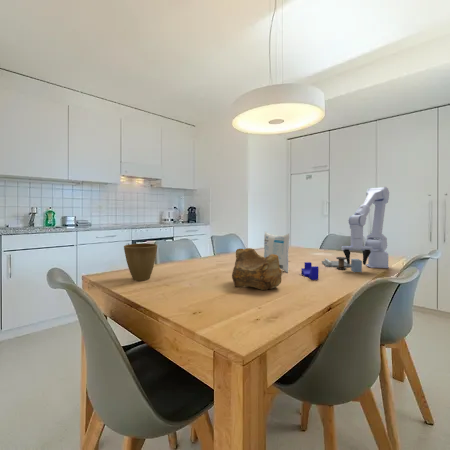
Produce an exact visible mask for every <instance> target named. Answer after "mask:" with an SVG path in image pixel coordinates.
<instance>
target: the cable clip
mask: <svg viewBox="0 0 450 450" xmlns="http://www.w3.org/2000/svg"><path fill="white" fill-rule="evenodd" d="M319 271H320V270H319V266H317V265H316V266H315V265H314V266H313V265H312V262H310V261H309V262H308V261H307V262H304V267H302V268H301V275H302V276H303V277H305V278H309V279H310V280H313V281H317V280H319Z"/></svg>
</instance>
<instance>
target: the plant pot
mask: <svg viewBox="0 0 450 450" xmlns="http://www.w3.org/2000/svg"><path fill="white" fill-rule="evenodd" d="M123 250H124V255H125V260H126V263H127V264H126V265H127V267H128V271H129V273H130V276H131V278H132V280H133V281H135V282H143V281H148V280H150V279H151V276H152V273H153V270H154V267H155V266H154V265H155V262H156V256H157V250H158V244H156V243H149V242H148V243H130V244H125V245H123Z"/></svg>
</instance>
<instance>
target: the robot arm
mask: <svg viewBox="0 0 450 450" xmlns="http://www.w3.org/2000/svg"><path fill="white" fill-rule="evenodd" d="M365 196H366V197H365V199H364V201H363V202H362V204H360V205H359V206H358V208H356V210H355V212H354V213H353V214H352V215H350V216H349V218H348V220H347V221H348V225H349V229H350V245H341V247H340V248H341V249H340V250H341V251H342V252H343V254H344V257H346V259H345V260H346V261H347V264H351V261H350V260H351V257H350V256H351V251H362V265H364V266H367V267H369V268H371V269H373V268H375V269H376V268H378V269H389V268H390V267H389V253H388V251H386V250H387V248H388V238H387V237H386V236H385V235H384V234H383V228H384V219H385V211H386V204H387V203H389V199H390V191H389V188H388V187H387V186H382V187H368V188H367V189H366V192H365ZM372 205H374V212H373V220H372V226H371V227H372V229H371V233H369V234H368V235H367V236H366V239H365V241H364V226H365V225H366V222H367V217H368V215H369V213H370V212H371V206H372ZM367 261H368V262H367ZM367 263H368V264H367Z"/></svg>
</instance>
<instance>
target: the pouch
mask: <svg viewBox="0 0 450 450" xmlns="http://www.w3.org/2000/svg"><path fill="white" fill-rule="evenodd" d="M263 241H264V242H263V246H264V248H263V257H264V258H266V257H267V256H269V255H271V254H275V255H277V256H278V258H279V267H280V269H281V271H284V272H285V273H287V274H288V273H289V245H290V233H287V234H284V235H283V234H282V235H281V234H280V235H279V234H278V235H276V234H272V233H268V231H264V240H263Z"/></svg>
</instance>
